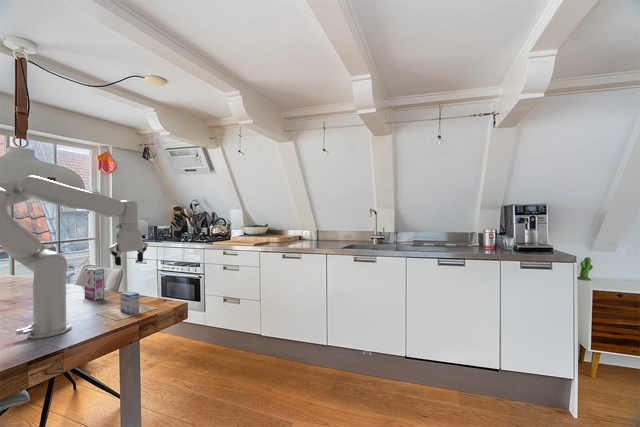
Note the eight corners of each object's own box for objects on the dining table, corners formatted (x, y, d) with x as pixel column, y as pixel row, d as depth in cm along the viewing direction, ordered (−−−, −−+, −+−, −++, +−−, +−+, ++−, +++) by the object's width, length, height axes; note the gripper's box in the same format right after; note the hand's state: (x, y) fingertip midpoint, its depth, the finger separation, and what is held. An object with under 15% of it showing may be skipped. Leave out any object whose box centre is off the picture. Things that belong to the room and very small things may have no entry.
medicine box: (120, 311, 139) (119, 293, 139) (129, 309, 143) (129, 291, 143) (129, 314, 135) (129, 295, 135) (139, 311, 139) (139, 293, 139)
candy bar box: (104, 298, 161) (104, 268, 161) (94, 301, 157) (93, 270, 157) (94, 295, 167) (94, 266, 167) (84, 298, 162) (83, 268, 162)
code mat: (116, 320, 128) (116, 320, 128) (96, 314, 136) (96, 313, 136) (157, 308, 143) (157, 308, 143) (136, 303, 152) (136, 302, 152)
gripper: (112, 228, 129) (113, 267, 130) (151, 226, 144) (152, 261, 145) (103, 228, 133) (104, 266, 133) (142, 225, 148) (143, 259, 148)
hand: (129, 263), depth 139 cm, fingers open, 9 cm apart
